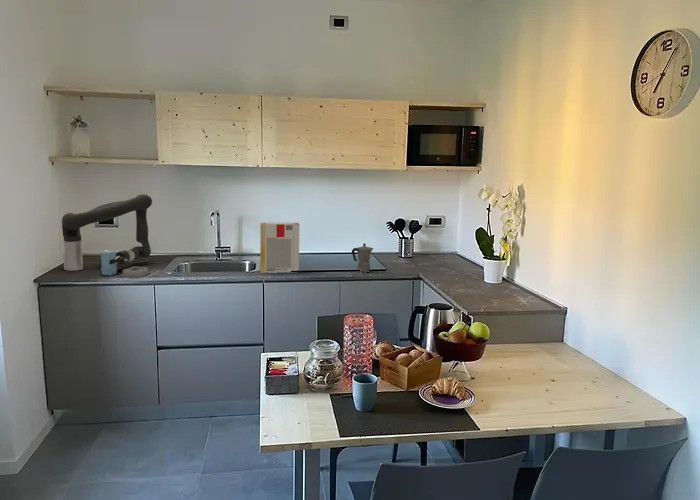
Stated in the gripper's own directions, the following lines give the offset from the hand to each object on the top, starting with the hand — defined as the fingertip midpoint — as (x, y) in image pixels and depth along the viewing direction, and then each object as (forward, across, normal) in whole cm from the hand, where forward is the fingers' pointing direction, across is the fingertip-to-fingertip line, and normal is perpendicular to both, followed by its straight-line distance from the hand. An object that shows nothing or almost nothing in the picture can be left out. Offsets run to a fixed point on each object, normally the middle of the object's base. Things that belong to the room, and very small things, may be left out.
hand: (105, 261), depth 308 cm
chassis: (-6, +15, +8) cm, 18 cm away
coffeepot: (-64, +135, +8) cm, 150 cm away
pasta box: (-45, +88, +8) cm, 99 cm away
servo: (-3, 0, +8) cm, 8 cm away
